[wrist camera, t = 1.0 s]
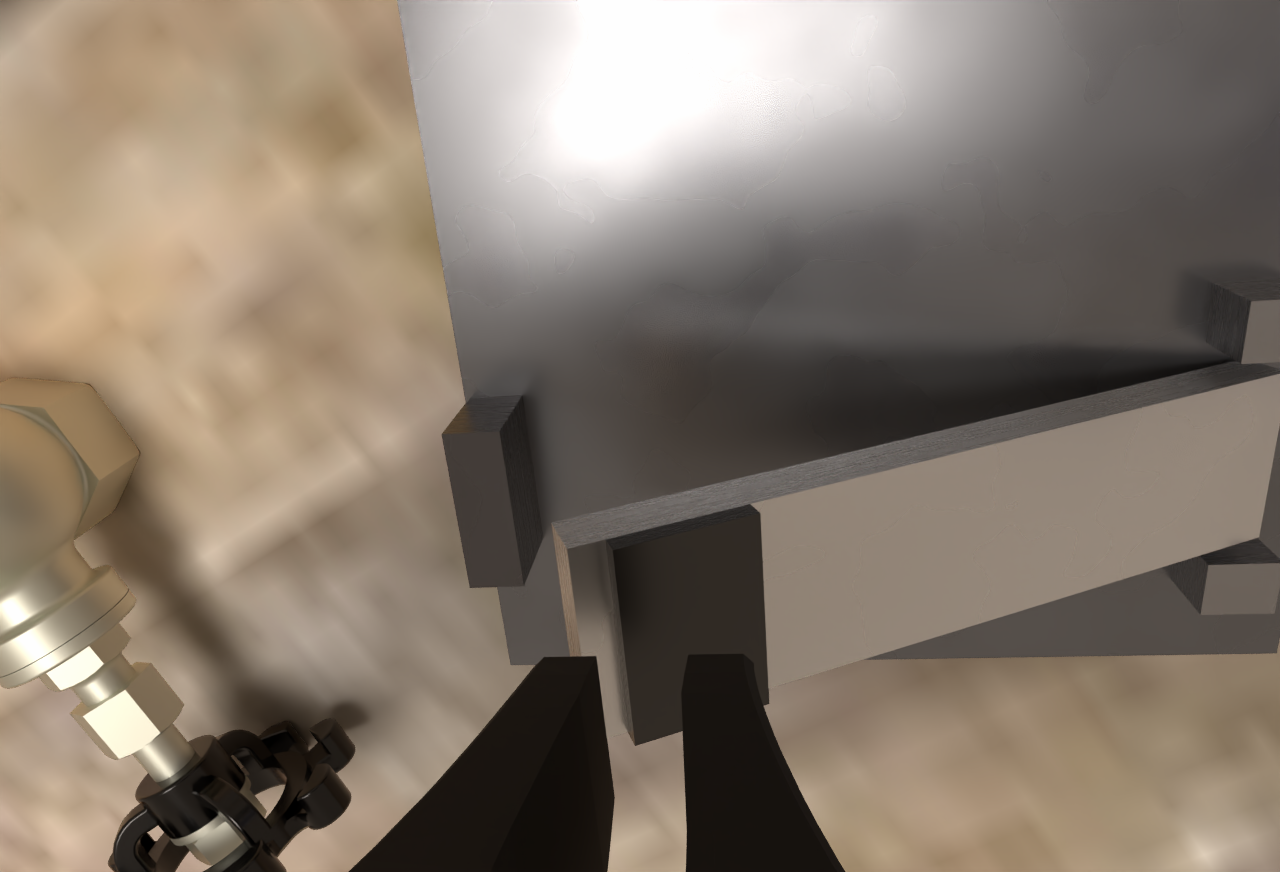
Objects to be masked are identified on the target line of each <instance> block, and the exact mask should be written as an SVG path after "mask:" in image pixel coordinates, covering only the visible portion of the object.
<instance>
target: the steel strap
mask: <svg viewBox="0 0 1280 872" xmlns="http://www.w3.org/2000/svg"><path fill="white" fill-rule="evenodd" d="M1279 426H1280V369H1279V368H1275V367H1271V366H1268V365H1264V364H1261V363H1252V364H1240V363H1239V362H1237V361H1233V362H1228V363H1224V364H1220V365H1216V366H1211V367H1207V368H1203V369H1199V370H1194V371H1190V372H1186V373H1182V374H1178V375H1173V376H1169V377H1165V378H1161V379H1156V380H1152V381H1148V382H1144V383H1139V384H1135V385H1131V386H1127V387H1123V388H1118V389H1114V390H1110V391H1106V392H1101V393H1097V394H1093V395H1089V396H1085V397H1080V398H1076V399H1072V400H1068V401H1063V402H1059V403H1055V404H1051V405H1046V406H1042V407H1038V408H1034V409H1030V410H1025V411H1021V412H1017V413H1013V414H1008V415H1004V416H1000V417H996V418H991V419H987V420H983V421H979V422H975V423H970V424H966V425H962V426H958V427H953V428H949V429H945V430H941V431H936V432H932V433H928V434H924V435H920V436H915V437H911V438H907V439H903V440H898V441H894V442H890V443H886V444H881V445H877V446H873V447H869V448H865V449H860V450H856V451H852V452H848V453H843V454H839V455H835V456H831V457H827V458H822V459H818V460H814V461H810V462H805V463H801V464H797V465H793V466H788V467H784V468H780V469H776V470H772V471H767V472H763V473H759V474H755V475H750V476H746V477H742V478H738V479H733V480H729V481H725V482H721V483H717V484H712V485H708V486H704V487H700V488H695V489H691V490H687V491H683V492H678V493H674V494H670V495H666V496H662V497H657V498H653V499H649V500H645V501H640V502H636V503H632V504H628V505H623V506H619V507H615V508H611V509H607V510H602V511H598V512H594V513H590V514H585V515H581V516H577V517H573V518H569V519H564V520H560V521H556V522H552V523H551V525H552V532H553V539H554V547H555V554H556V561H557V568H558V575H559V582H560V589H561V596H562V603H563V610H564V617H565V624H566V631H567V639H568V646H569V653H570V657H571V656H596V657H597V665H598V672H599V680H600V688H601V696H602V704H603V711H604V719H605V727H606V735H607V739H608V738H611V737H614V736H618V735H621V734H624V733H627V732H628V733H629V735H630V737H631V739H632V741H633V743H634V745H635V746H636V745H640V744H643V743H646V742H649V741H652V740H656V739H659V738H662V737H665V736H668V735H671V734H675V733H678V732H681V731H683V726H682V701H681V691H682V685H683V679H684V673H685V668H686V663H687V658H688V655H692V654H744V655H745V656H747V657H748V658H749V659H750V660H751V661H752V662H754V672H755V677H756V682H757V686H758V690H759V694H760V697H761V700H762V703H763V706H764V705H767V704H769V689H770V688H773V687H776V686H779V685H783V684H786V683H789V682H792V681H796V680H799V679H802V678H805V677H808V676H812V675H815V674H818V673H821V672H825V671H828V670H831V669H834V668H838V667H841V666H844V665H847V664H851V663H854V662H857V661H860V660H863V659H867V658H870V657H873V656H876V655H880V654H883V653H886V652H889V651H893V650H896V649H899V648H902V647H906V646H909V645H912V644H915V643H918V642H922V641H925V640H928V639H931V638H935V637H938V636H941V635H944V634H948V633H951V632H954V631H957V630H961V629H964V628H967V627H970V626H973V625H977V624H980V623H983V622H986V621H990V620H993V619H996V618H999V617H1003V616H1006V615H1009V614H1012V613H1016V612H1019V611H1022V610H1025V609H1028V608H1032V607H1035V606H1038V605H1041V604H1045V603H1048V602H1051V601H1054V600H1058V599H1061V598H1064V597H1067V596H1071V595H1074V594H1077V593H1080V592H1083V591H1087V590H1090V589H1093V588H1096V587H1100V586H1103V585H1106V584H1109V583H1113V582H1116V581H1119V580H1122V579H1126V578H1129V577H1132V576H1135V575H1138V574H1142V573H1145V572H1148V571H1151V570H1155V569H1158V568H1161V567H1164V566H1168V565H1171V564H1174V563H1177V562H1181V561H1184V560H1187V559H1190V558H1193V557H1197V556H1200V555H1203V554H1206V553H1210V552H1213V551H1216V550H1219V549H1223V548H1226V547H1229V546H1232V545H1236V544H1239V543H1242V542H1245V541H1248V540H1252V539H1255V538H1258V537H1259V535H1260V529H1261V524H1262V518H1263V513H1264V507H1265V502H1266V497H1267V491H1268V486H1269V480H1270V475H1271V469H1272V464H1273V458H1274V453H1275V447H1276V442H1277V437H1278V431H1279Z"/></svg>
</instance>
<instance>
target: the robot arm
mask: <svg viewBox="0 0 1280 872" xmlns="http://www.w3.org/2000/svg"><path fill="white" fill-rule="evenodd" d="M681 701H682V726H683V750H684V773H685V797H686V821H687V853H686V872H845V871H844V869H843V867H842V866H841V864H840V862H839V861H838V859H837V857H836V856H835V854H834V852H833V850H832V849H831V847H830V845H829V843H828V842H827V840H826V838H825V836H824V835H823V833H822V831H821V829H820V828H819V826H818V824H817V822H816V820H815V819H814V817H813V815H812V813H811V811H810V809H809V807H808V805H807V803H806V802H805V800H804V798H803V796H802V794H801V792H800V790H799V788H798V785H797V783H796V781H795V779H794V777H793V775H792V773H791V771H790V769H789V767H788V765H787V763H786V760H785V758H784V756H783V754H782V752H781V750H780V747H779V745H778V743H777V740H776V738H775V736H774V733H773V731H772V728H771V725H770V723H769V720H768V717H767V715H766V712H765V709H764V706H763V703H762V700H761V697H760V694H759V690H758V686H757V682H756V677H755V672H754V662H752V661H751V660H750V659H749V658H748V657H747V656H745V655H744V654H692V655H688V658H687V663H686V668H685V673H684V679H683V685H682V691H681ZM614 799H615V797H614V789H613V781H612V774H611V766H610V758H609V750H608V742H607V735H606V727H605V719H604V711H603V704H602V696H601V688H600V680H599V672H598V665H597V657H596V656H571V657H543V658H542V659H541V660H540V661H539V662H538V663H537V664H536V665H535V667H534V668H533V669H532V670H531V671H530V673H529V674H528V675H527V676H526V678H525V679H524V680H523V681H522V682H521V684H520V685H519V686H518V687H517V689H516V690H515V691H514V692H513V694H512V695H511V696H510V697H509V698H508V700H507V701H506V702H505V703H504V705H503V706H502V707H501V708H500V709H499V711H498V712H497V713H496V714H495V715H494V717H493V718H492V719H491V720H490V721H489V723H488V724H487V725H486V726H485V727H484V729H483V730H482V731H481V732H480V733H479V735H478V736H477V737H476V738H475V739H474V740H473V742H472V743H471V744H470V745H469V746H468V747H467V748H466V750H465V751H464V752H463V753H462V754H461V755H460V756H459V757H458V759H457V760H456V761H455V762H454V763H453V764H452V765H451V767H450V768H449V769H448V770H447V771H446V772H445V773H444V775H443V776H442V777H441V778H440V779H439V780H438V781H437V782H436V784H435V785H434V786H433V787H432V788H431V789H430V790H429V791H428V792H427V793H426V794H425V795H424V797H423V798H422V799H421V800H420V801H419V802H418V803H417V804H416V805H415V806H414V807H413V808H412V809H411V810H410V811H409V812H408V813H407V814H406V815H405V816H404V817H403V818H402V819H401V820H400V821H399V822H398V823H397V824H396V825H395V826H394V827H393V828H392V829H391V830H390V831H389V832H388V834H387V835H386V836H385V837H384V838H383V839H382V840H381V841H380V842H379V843H378V844H377V845H376V846H375V847H374V848H373V849H372V850H371V851H370V852H369V853H368V854H367V855H366V856H364V857H363V858H362V859H361V860H360V861H359V862H358V863H357V864H356V865H355V866H354V867H353V868H352V869H351V870H350V871H349V872H607V870H608V860H609V851H610V841H611V831H612V820H613V809H614Z"/></svg>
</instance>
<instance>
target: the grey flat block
mask: <svg viewBox="0 0 1280 872" xmlns="http://www.w3.org/2000/svg"><path fill="white" fill-rule="evenodd" d="M397 2H398V8H399V14H400V20H401V26H402V31H403V37H404V43H405V49H406V55H407V61H408V67H409V72H410V78H411V84H412V90H413V96H414V102H415V108H416V113H417V119H418V125H419V131H420V137H421V143H422V149H423V154H424V160H425V166H426V172H427V178H428V184H429V190H430V195H431V201H432V207H433V213H434V219H435V225H436V231H437V236H438V242H439V248H440V254H441V260H442V266H443V272H444V277H445V283H446V289H447V295H448V301H449V307H450V313H451V318H452V324H453V330H454V336H455V342H456V348H457V354H458V359H459V365H460V371H461V377H462V383H463V389H464V395H465V400H466V404H465V405H464V406H463V408H462V409H461V410H460V412H459V413H458V414H457V415H456V417H455V418H454V419H453V420H452V422H451V423H450V424H449V426H448V427H447V428H446V429H445V431H444V432H443V433H442V439H443V444H444V449H445V455H446V460H447V466H448V471H449V477H450V482H451V488H452V493H453V498H454V504H455V509H456V515H457V520H458V526H459V531H460V536H461V542H462V547H463V553H464V558H465V564H466V569H467V575H468V580H469V585H470V588H480V587H497V588H498V594H499V599H500V605H501V611H502V617H503V623H504V629H505V635H506V640H507V646H508V652H509V658H510V664H511V665H536V664H537V663H538V662H539V661H540V660H541V659H542V658H543V657H570V653H569V646H568V639H567V631H566V624H565V617H564V610H563V603H562V596H561V589H560V582H559V575H558V568H557V561H556V554H555V547H554V539H553V532H552V525H551V523H552V522H556V521H560V520H564V519H569V518H573V517H577V516H581V515H585V514H590V513H594V512H598V511H602V510H607V509H611V508H615V507H619V506H623V505H628V504H632V503H636V502H640V501H645V500H649V499H653V498H657V497H662V496H666V495H670V494H674V493H678V492H683V491H687V490H691V489H695V488H700V487H704V486H708V485H712V484H717V483H721V482H725V481H729V480H733V479H738V478H742V477H746V476H750V475H755V474H759V473H763V472H767V471H772V470H776V469H780V468H784V467H788V466H793V465H797V464H801V463H805V462H810V461H814V460H818V459H822V458H827V457H831V456H835V455H839V454H843V453H848V452H852V451H856V450H860V449H865V448H869V447H873V446H877V445H881V444H886V443H890V442H894V441H898V440H903V439H907V438H911V437H915V436H920V435H924V434H928V433H932V432H936V431H941V430H945V429H949V428H953V427H958V426H962V425H966V424H970V423H975V422H979V421H983V420H987V419H991V418H996V417H1000V416H1004V415H1008V414H1013V413H1017V412H1021V411H1025V410H1030V409H1034V408H1038V407H1042V406H1046V405H1051V404H1055V403H1059V402H1063V401H1068V400H1072V399H1076V398H1080V397H1085V396H1089V395H1093V394H1097V393H1101V392H1106V391H1110V390H1114V389H1118V388H1123V387H1127V386H1131V385H1135V384H1139V383H1144V382H1148V381H1152V380H1156V379H1161V378H1165V377H1169V376H1173V375H1178V374H1182V373H1186V372H1190V371H1194V370H1199V369H1203V368H1207V367H1211V366H1216V365H1220V364H1224V363H1228V362H1233V361H1237V362H1239V363H1240V364H1252V363H1261V364H1264V365H1268V366H1271V367H1275V368H1279V369H1280V0H397ZM1279 638H1280V426H1279V431H1278V437H1277V442H1276V447H1275V453H1274V458H1273V464H1272V469H1271V475H1270V480H1269V486H1268V491H1267V497H1266V502H1265V507H1264V513H1263V518H1262V524H1261V529H1260V535H1259V537H1258V538H1255V539H1252V540H1248V541H1245V542H1242V543H1239V544H1236V545H1232V546H1229V547H1226V548H1223V549H1219V550H1216V551H1213V552H1210V553H1206V554H1203V555H1200V556H1197V557H1193V558H1190V559H1187V560H1184V561H1181V562H1177V563H1174V564H1171V565H1168V566H1164V567H1161V568H1158V569H1155V570H1151V571H1148V572H1145V573H1142V574H1138V575H1135V576H1132V577H1129V578H1126V579H1122V580H1119V581H1116V582H1113V583H1109V584H1106V585H1103V586H1100V587H1096V588H1093V589H1090V590H1087V591H1083V592H1080V593H1077V594H1074V595H1071V596H1067V597H1064V598H1061V599H1058V600H1054V601H1051V602H1048V603H1045V604H1041V605H1038V606H1035V607H1032V608H1028V609H1025V610H1022V611H1019V612H1016V613H1012V614H1009V615H1006V616H1003V617H999V618H996V619H993V620H990V621H986V622H983V623H980V624H977V625H973V626H970V627H967V628H964V629H961V630H957V631H954V632H951V633H948V634H944V635H941V636H938V637H935V638H931V639H928V640H925V641H922V642H918V643H915V644H912V645H909V646H906V647H902V648H899V649H896V650H893V651H889V652H886V653H883V654H880V655H876V656H873V657H870V658H867V659H863V660H871V659H936V658H1001V657H1066V656H1131V655H1195V654H1260V653H1277V648H1278V643H1279Z"/></svg>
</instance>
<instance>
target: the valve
mask: <svg viewBox="0 0 1280 872" xmlns="http://www.w3.org/2000/svg"><path fill="white" fill-rule="evenodd" d="M139 454H140V453H139V451H138V449H137V447H136V445H135V444H134V442H133V441H132V439H131V438H130V437H129V435H128V434H127V433H126V431H125V430H124V429H123V427H122V426H121V425H120V423H119V422H118V420H117V419H116V418H115V416H114V415H113V414H112V412H111V411H110V410H109V408H108V407H107V406H106V404H105V403H104V401H103V400H102V399H101V397H100V396H99V395H98V393H97V392H96V391H95V390H94V389H93V388H92V387H91V386H90V385H89V384H84V383H76V382H64V381H52V380H40V379H29V378H9V379H7V380H5V381H3V382H0V685H1V686H2V687H3V688H6V689H10V688H15V687H18V686H21V685H23V684H26V683H28V682H30V681H32V680H34V679H36V678H38V677H39V678H40V679H41V681H42V682H43V683H44V684H45V685H46V686H47V688H48V689H50V690H52V691H55V692H60V691H64V690H66V689H68V688H69V689H71V690H72V691H74V693H75V694H76V695H77V696H78V698H79V699H80V700H81V701H82V702H81V703H80V704H79V705H78V706H77V707H76V708H75V709H74V710H73V711H72V712H71V713H70V714H71V716H72V717H73V718H74V719H75V720H76V721H77V723H78V724H79V725H80V726H81V727H82V729H83V730H84V731H85V732H86V733H87V734H88V736H89V737H90V738H91V739H92V740H93V741H94V743H95V744H96V745H97V746H98V747H99V748H100V750H101V751H102V752H103V753H104V754H105V755H106V756H108V757H110V758H112V759H115V760H118V759H122V758H125V757H127V756H129V755H131V754H132V755H133V756H134V757H135V758H136V759H137V761H138V762H139V763H140V764H141V765H142V767H143V768H144V769H145V770H146V771H147V772H148V774H147V775H146V776H145V777H144V779H143V780H142V781H141V783H140V784H139V786H138V788H137V790H136V794H135V797H136V800H137V801H138V802H139V803H140V804H139V805H138V806H136V807H135V808H134V809H132V810H131V811H130V813H129V814H128V815H127V816H126V817H125V818H124V820H123V821H122V823H121V825H120V827H119V830H118V832H117V835H116V838H115V841H114V847H113V853H112V855H111V856H110V858H109V861H108V866H109V867H110V868H111V869H112V870H113V871H114V872H175V871H176V870H177V868H178V866H179V865H180V863H181V862H182V860H183V859H184V857H185V856H186V855H187V853H188V852H189V851H191V853H192V854H193V855H194V856H195V857H196V858H197V859H198V860H200V861H201V862H203V863H205V864H207V865H213V866H212V867H210V868H208V869H207V870H205V871H203V872H286V869H285V867H284V866H283V864H282V863H281V862H280V861H279V859H278V856H279V855H280V853H281V852H282V851H283V850H284V849H285V847H286V846H287V845H288V844H289V843H290V842H291V840H292V839H293V838H294V837H295V836H296V835H297V834H298V833H300V832H301V831H303V830H304V829H306V828H308V827H309V828H310V829H313V830H318V829H322V828H324V827H326V826H328V825H330V824H331V823H333V822H334V821H335V820H337V819H338V818H339V817H340V816H341V815H342V814H343V813H344V812H345V810H346V809H347V807H348V806H349V804H350V801H351V793H350V791H349V790H348V788H347V787H346V786H345V784H344V783H343V782H342V781H341V779H340V778H339V777H338V775H337V774H336V773H337V772H339V771H340V770H341V769H343V768H344V767H345V766H346V765H347V764H348V763H349V762H350V760H351V759H352V757H353V756H354V754H355V745H354V744H353V743H352V741H351V740H350V739H349V737H348V736H347V734H346V733H345V732H344V730H343V729H342V728H341V726H340V725H339V724H338V722H337V721H336V720H335V719H332V718H330V719H325V720H323V721H321V722H319V723H317V724H316V725H314V726H313V727H311V728H310V732H311V734H312V735H313V736H314V738H315V739H316V740H317V742H318V743H317V744H316V745H315V746H314V747H313V748H312V749H311V750H310V751H309V749H308V746H307V744H306V743H305V742H304V740H303V739H302V738H301V736H300V735H299V734H298V733H297V731H296V730H295V729H294V727H293V726H292V725H291V723H290V722H289V721H284V722H281V723H278V724H276V725H273V726H271V727H269V728H268V729H267V730H265V731H264V732H263V733H262V734H261V735H260V736H259V737H258V736H256V735H255V734H253V733H251V732H249V731H245V730H233V731H230V732H227V733H225V734H222V735H220V736H217V737H214V736H212V735H204V736H200V737H198V738H195V739H193V740H191V741H189V742H187V740H186V739H185V738H184V737H183V735H182V734H181V733H180V732H179V730H178V729H177V728H176V727H175V726H174V724H173V722H174V721H175V720H176V718H177V717H178V715H179V714H180V712H181V710H182V708H183V706H184V704H183V702H182V701H181V700H180V699H179V697H178V696H177V695H176V694H175V692H174V691H173V690H172V689H171V687H170V686H169V685H168V684H167V682H166V681H165V680H164V679H163V677H162V676H161V675H160V674H159V672H158V671H157V670H156V669H155V667H154V666H153V665H152V664H151V663H143V662H136V663H134V664H133V665H130V663H129V662H128V661H127V660H126V659H125V657H124V656H123V655H122V650H123V649H124V648H125V647H126V646H127V644H128V642H129V640H130V639H131V637H130V636H129V635H128V634H127V632H126V631H125V630H124V629H123V627H122V626H121V625H120V624H119V622H120V621H121V620H122V619H123V618H124V617H125V616H126V615H127V614H128V613H129V612H130V611H131V610H132V608H133V607H134V605H135V603H136V597H135V596H134V595H133V594H132V593H131V591H130V590H129V588H128V587H127V586H126V584H125V583H124V582H123V581H122V579H121V578H120V577H119V576H118V574H117V573H116V572H115V570H114V569H113V568H112V567H111V566H109V565H104V566H100V567H97V568H95V569H92V568H91V567H90V566H89V565H88V563H87V562H86V561H85V560H84V558H83V557H82V556H81V555H80V553H79V552H78V551H77V550H76V548H75V546H74V540H75V539H77V538H78V537H79V536H81V535H82V534H83V533H85V532H86V531H88V530H89V529H90V528H92V527H93V526H94V525H96V524H97V523H98V522H100V521H101V520H103V519H104V518H105V517H107V516H108V515H109V514H111V513H112V512H113V511H114V510H115V508H116V506H117V504H118V502H119V500H120V498H121V496H122V493H123V491H124V489H125V487H126V485H127V482H128V480H129V478H130V476H131V474H132V471H133V469H134V467H135V465H136V463H137V460H138V458H139ZM308 751H309V752H308ZM232 755H234V756H235V757H236V758H237V759H238V760H239V761H240V762H241V764H242V765H243V766H244V768H242V769H240V767H239V766H238V765H237V764H236V762H235V761H234V760H233V759H232V757H231V756H232ZM279 785H285V789H284V791H283V794H282V796H281V798H280V800H279V801H278V803H277V804H276V806H275V807H274V809H273V810H272V812H271V813H270V814H269V815H268V816H267V818H266V819H265V818H264V817H265V815H266V812H267V811H266V809H265V808H264V807H263V806H262V804H261V803H260V802H259V801H258V799H257V798H256V797H255V796H254V795H256V794H258V793H260V792H262V791H264V790H267V789H269V788H272V787H275V786H279ZM156 826H159V827H160V828H161V829H162V830H163V831H164V833H163V835H162V836H161V837H160V838H159V839H158V841H154V840H153V839H152V837H151V836H150V835H149V834H148V833H147V832H149V831H150V830H152V829H153V828H155V827H156ZM214 864H215V865H214Z"/></svg>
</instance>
